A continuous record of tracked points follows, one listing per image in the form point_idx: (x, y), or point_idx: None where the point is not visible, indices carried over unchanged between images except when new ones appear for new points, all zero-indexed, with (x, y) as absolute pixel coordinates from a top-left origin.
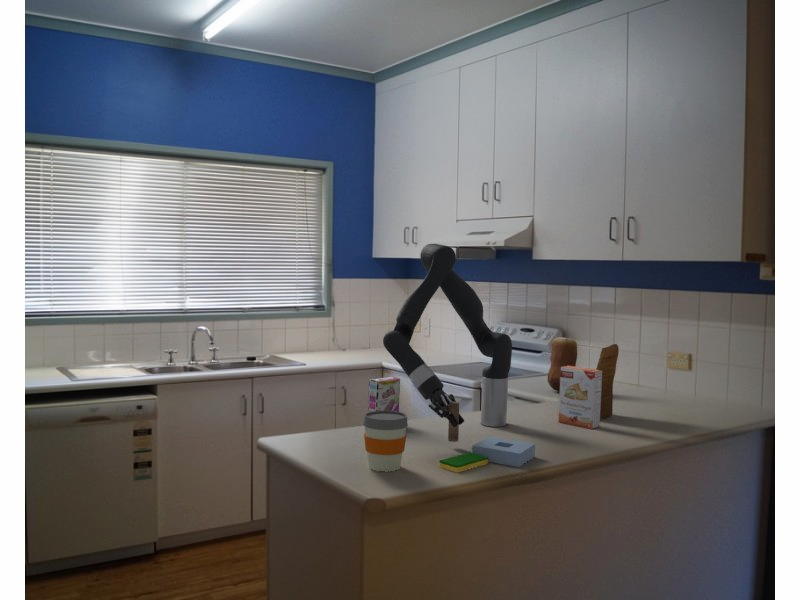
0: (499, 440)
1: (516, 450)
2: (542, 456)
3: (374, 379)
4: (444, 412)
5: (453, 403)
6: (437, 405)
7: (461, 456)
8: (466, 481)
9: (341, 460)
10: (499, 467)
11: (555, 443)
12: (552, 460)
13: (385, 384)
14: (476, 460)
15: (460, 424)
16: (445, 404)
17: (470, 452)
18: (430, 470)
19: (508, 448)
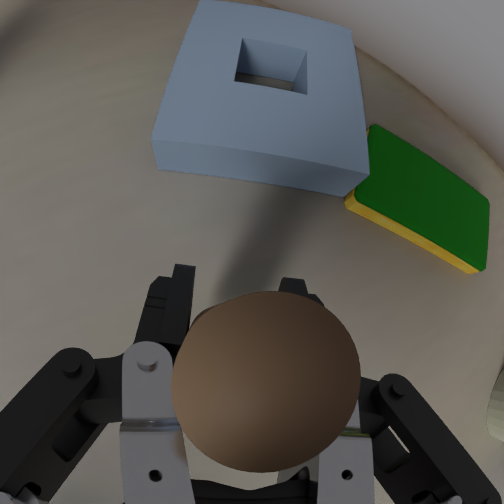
0: (209, 85)
1: (324, 33)
2: (181, 20)
3: None
4: (411, 397)
5: (325, 377)
6: (475, 465)
7: (424, 212)
8: (498, 172)
9: None
10: (373, 101)
11: (27, 40)
12: None
13: None
14: (426, 155)
15: (192, 297)
16: (369, 464)
17: (363, 192)
18: (496, 282)
19: (317, 50)
